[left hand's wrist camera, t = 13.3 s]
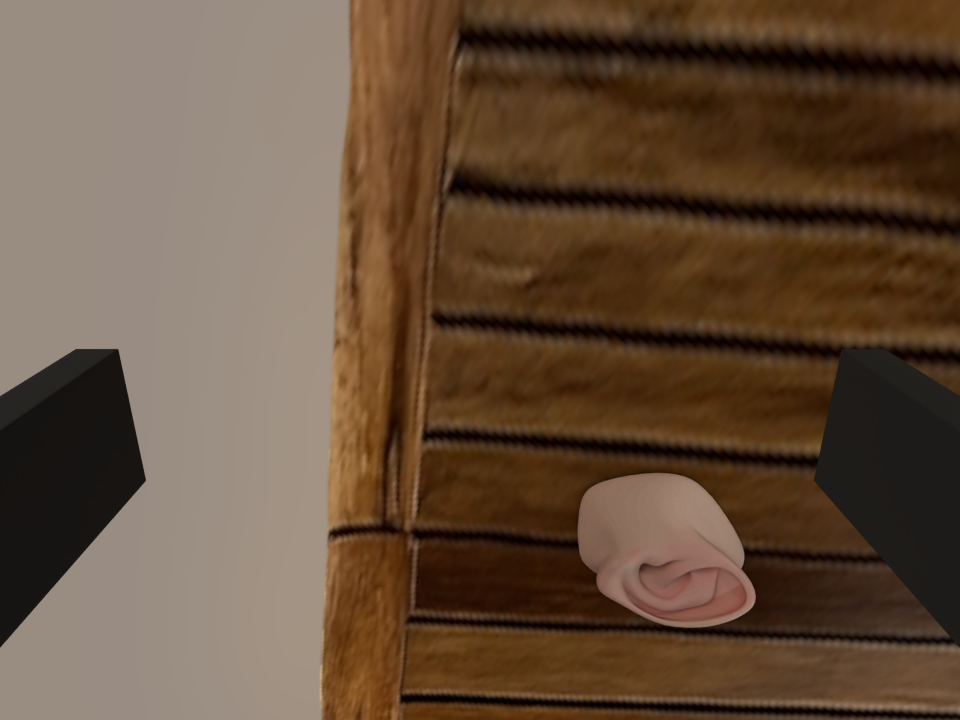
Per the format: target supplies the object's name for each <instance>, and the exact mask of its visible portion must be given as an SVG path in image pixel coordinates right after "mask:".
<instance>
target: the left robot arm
mask: <svg viewBox="0 0 960 720" xmlns="http://www.w3.org/2000/svg"><path fill="white" fill-rule="evenodd" d="M145 481H146V478H145V474H144V469H143V464H142V459H141V455H140V450H139V445H138V440H137V436H136V431H135V426H134V422H133V417H132V412H131V407H130V403H129V398H128V393H127V389H126V384H125V379H124V374H123V370H122V365H121V360H120V355H119V351H118V349H75V350H74V351H72V352H71V353H69V354H67V355H66V356H64V357H63V358H61V359H59V360H58V361H56V362H55V363H53V364H51V365H50V366H48V367H46V368H45V369H43V370H42V371H40V372H38V373H37V374H35V375H34V376H32V377H30V378H29V379H27V380H26V381H24V382H22V383H21V384H19V385H18V386H16V387H14V388H13V389H11V390H9V391H8V392H6V393H5V394H3V395H1V396H0V647H1V646H2V645H3V644H4V643H5V641H6V640H7V639H8V638H9V637H10V636H11V635H12V633H13V632H14V631H15V630H16V629H17V628H18V627H19V625H20V624H21V623H22V622H23V621H24V620H25V619H26V617H27V616H28V615H29V614H30V613H31V612H32V611H33V609H34V608H35V607H36V606H37V605H38V604H39V603H40V601H41V600H42V599H43V598H44V597H45V596H46V595H47V593H48V592H49V591H50V590H51V589H52V588H53V587H54V585H55V584H56V583H57V582H58V581H59V580H60V578H61V577H62V576H63V575H64V574H65V573H66V572H67V570H68V569H69V568H70V567H71V566H72V565H73V564H74V562H75V561H76V560H77V559H78V558H79V557H80V556H81V554H82V553H83V552H84V551H85V550H86V549H87V548H88V546H89V545H90V544H91V543H92V542H93V541H94V540H95V538H96V537H97V536H98V535H99V534H100V533H101V532H102V530H103V529H104V528H105V527H106V526H107V525H108V524H109V522H110V521H111V520H112V519H113V518H114V517H115V516H116V514H117V513H118V512H119V511H120V510H121V509H122V507H123V506H124V505H125V504H126V503H127V502H128V501H129V499H130V498H131V497H132V496H133V495H134V494H135V493H136V491H137V490H138V489H139V488H140V487H141V486H142V485H143V483H144V482H145ZM814 481H815V482H816V483H817V485H818V486H819V487H820V488H821V489H822V490H823V491H824V493H825V494H826V495H827V496H828V497H829V498H830V499H831V501H832V502H833V503H834V504H835V505H836V506H837V508H838V509H839V510H840V511H841V512H842V513H843V514H844V516H845V517H846V518H847V519H848V520H849V521H850V522H851V524H852V525H853V526H854V527H855V528H856V529H857V530H858V532H859V533H860V534H861V535H862V536H863V537H864V538H865V540H866V541H867V542H868V543H869V544H870V545H871V546H872V548H873V549H874V550H875V551H876V552H877V553H878V554H879V556H880V557H881V558H882V559H883V560H884V561H885V562H886V564H887V565H888V566H889V567H890V568H891V569H892V570H893V572H894V573H895V574H896V575H897V576H898V577H899V578H900V580H901V581H902V582H903V583H904V584H905V585H906V587H907V588H908V589H909V590H910V591H911V592H912V593H913V595H914V596H915V597H916V598H917V599H918V600H919V601H920V603H921V604H922V605H923V606H924V607H925V608H926V609H927V611H928V612H929V613H930V614H931V615H932V616H933V617H934V619H935V620H936V621H937V622H938V623H939V624H940V625H941V627H942V628H943V629H944V630H945V631H946V632H947V633H948V635H949V636H950V637H951V638H952V639H953V640H954V641H955V643H956V644H957V645H958V646H959V647H960V396H959V395H957V394H955V393H954V392H952V391H951V390H949V389H947V388H946V387H944V386H943V385H941V384H939V383H938V382H936V381H934V380H933V379H931V378H930V377H928V376H926V375H925V374H923V373H922V372H920V371H918V370H917V369H915V368H914V367H912V366H910V365H909V364H907V363H906V362H904V361H902V360H901V359H899V358H897V357H896V356H894V355H893V354H891V353H889V352H888V351H886V350H885V349H842V351H841V355H840V360H839V365H838V370H837V374H836V379H835V384H834V388H833V393H832V398H831V403H830V407H829V412H828V417H827V422H826V426H825V431H824V436H823V440H822V445H821V450H820V455H819V459H818V464H817V469H816V474H815V478H814Z"/></svg>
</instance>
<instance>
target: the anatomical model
mask: <svg viewBox="0 0 960 720" xmlns="http://www.w3.org/2000/svg"><path fill="white" fill-rule="evenodd" d="M578 543H579V551H580V556H581V558H582V560H583V562H584V563H585V564H586V565H587V567H589V568H590V569H591V570H592V571H594V572H595V573H597V586H598V588H599V590H600V591H601V592H602V593H603V594H604V595H605V596H607V597H608V598H610V599H612V600H614V601H616V602H617V603H619V604H621V605H623V606H625V607H626V608H628V609H630V610H632V611H633V612H635V613H637V614H639V615H641V616H643V617H645V618H647V619H649V620H651V621H654V622H657V623H660V624H663V625H668V626H674V627H707V626H713V625H717V624H721V623H725V622H728V621H730V620H733V619H735V618H738V617H739V616H741V615H743V614H745V613H746V612H748V611H749V610H750V609H751V608H752V606H753V605H754V603H755V598H756V597H755V590H754V588H753V585H752V583H751V581H750V580H749V579H748V577H747V576H746V574H745V573H744V572H743V571H742V569H741V568H742V566H743V563H744V551H743V547H742V545H741V542H740V540H739V538H738V536H737V534H736V532H735V530H734V528H733V526H732V525H731V523H730V522H729V520H728V518H727V517H726V515H725V514H724V513H723V511H722V510H721V508H720V507H719V505H718V504H717V503H716V502H715V500H714V499H713V498H712V497H711V496H710V495H709V493H708V492H707V491H706V490H705V489H704V488H703V487H701V486H700V485H699V484H698V483H696V482H695V481H693V480H691V479H689V478H687V477H684V476H680V475H676V474H669V473H646V474H637V475H630V476H624V477H619V478H614V479H611V480H607V481H604V482H601V483H598V484H596V485H594V486H592V487H591V488H590V489H589V490H588V491H587V492H586V493H585V494H584V496H583V498H582V501H581V505H580V510H579V520H578Z"/></svg>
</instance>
